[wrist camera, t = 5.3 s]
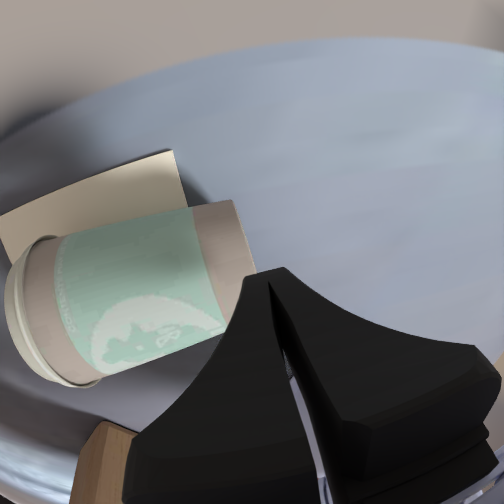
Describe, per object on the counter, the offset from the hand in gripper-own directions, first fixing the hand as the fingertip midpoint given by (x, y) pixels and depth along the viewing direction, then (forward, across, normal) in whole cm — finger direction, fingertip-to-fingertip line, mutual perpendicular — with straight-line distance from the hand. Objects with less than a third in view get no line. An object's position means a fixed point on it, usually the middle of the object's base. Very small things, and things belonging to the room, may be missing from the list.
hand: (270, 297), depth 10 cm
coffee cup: (+6, 0, +1) cm, 6 cm away
